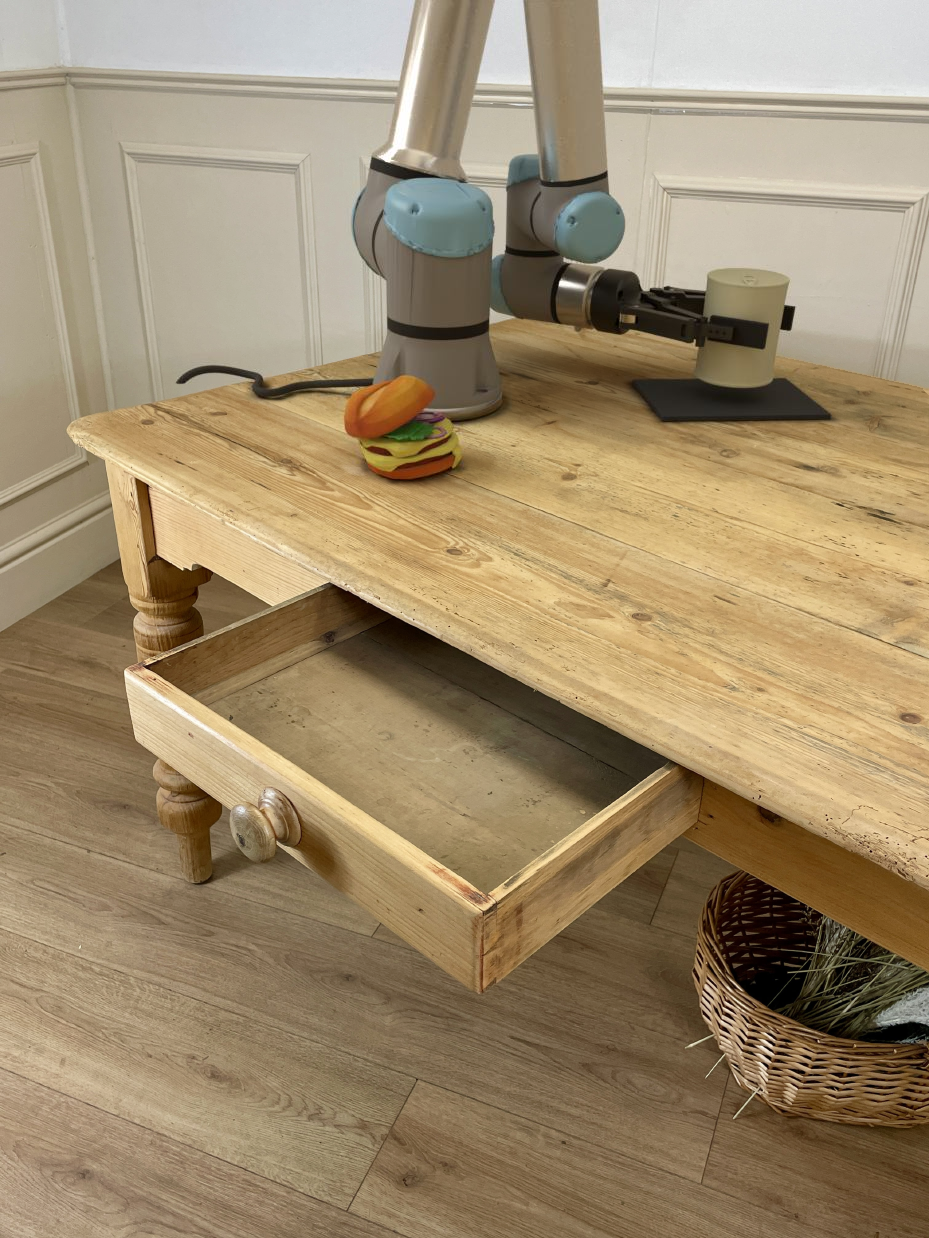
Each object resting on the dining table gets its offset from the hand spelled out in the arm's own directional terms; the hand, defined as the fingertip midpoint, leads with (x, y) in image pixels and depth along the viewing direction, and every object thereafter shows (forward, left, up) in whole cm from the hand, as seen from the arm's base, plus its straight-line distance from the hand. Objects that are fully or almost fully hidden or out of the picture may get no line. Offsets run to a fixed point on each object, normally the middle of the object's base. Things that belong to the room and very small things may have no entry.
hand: (779, 327), depth 113 cm
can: (-3, +3, -7) cm, 8 cm away
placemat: (-4, +3, -10) cm, 11 cm away
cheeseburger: (-44, -16, -10) cm, 48 cm away
